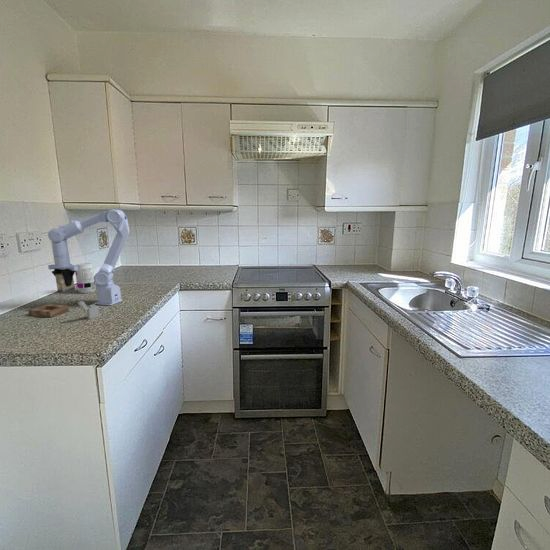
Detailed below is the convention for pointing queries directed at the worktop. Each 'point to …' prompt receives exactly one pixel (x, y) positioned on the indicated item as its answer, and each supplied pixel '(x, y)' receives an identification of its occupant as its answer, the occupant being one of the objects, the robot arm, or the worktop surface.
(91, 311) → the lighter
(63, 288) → the peg
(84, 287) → the supplement can
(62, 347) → the worktop surface
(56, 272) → the robot arm
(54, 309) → the holder
